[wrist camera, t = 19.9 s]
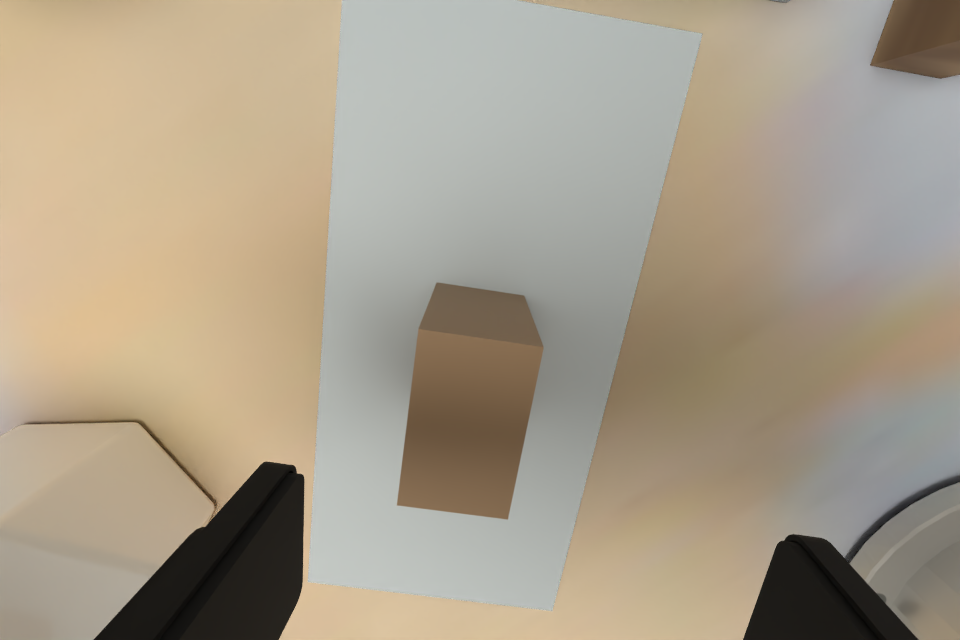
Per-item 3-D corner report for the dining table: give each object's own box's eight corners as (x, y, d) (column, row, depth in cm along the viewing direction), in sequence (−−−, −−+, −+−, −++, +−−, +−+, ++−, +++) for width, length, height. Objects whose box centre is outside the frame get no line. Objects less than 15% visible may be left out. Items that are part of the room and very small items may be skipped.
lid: (548, 587, 21) (575, 747, 15) (317, 559, 21) (252, 713, 15) (685, 44, 15) (823, -44, 9) (354, -15, 14) (266, -151, 8)
